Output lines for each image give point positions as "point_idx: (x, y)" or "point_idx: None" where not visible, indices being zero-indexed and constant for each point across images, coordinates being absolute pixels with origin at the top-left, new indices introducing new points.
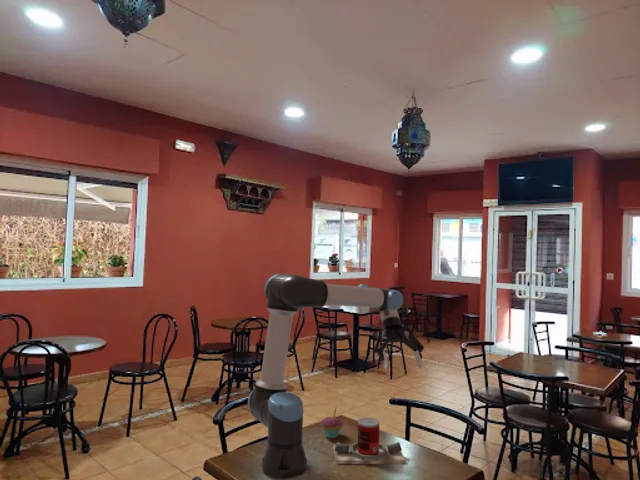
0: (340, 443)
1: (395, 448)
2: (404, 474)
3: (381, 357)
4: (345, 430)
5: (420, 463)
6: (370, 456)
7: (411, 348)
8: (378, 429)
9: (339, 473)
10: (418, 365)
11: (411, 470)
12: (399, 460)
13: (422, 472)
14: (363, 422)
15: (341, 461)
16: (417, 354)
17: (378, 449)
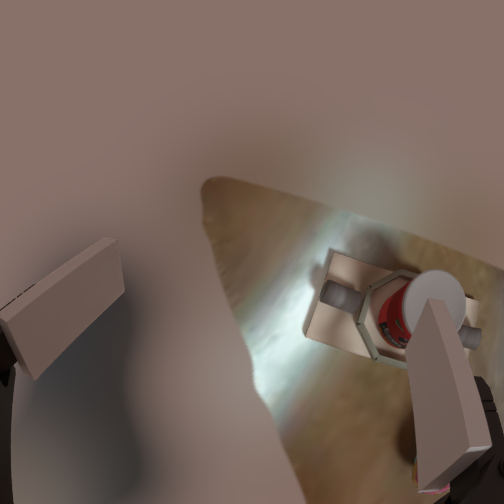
0: (473, 335)
1: (343, 285)
2: (358, 215)
3: (488, 391)
4: (377, 483)
5: (295, 245)
6: (418, 274)
7: (5, 418)
8: (408, 282)
9: (478, 263)
10: (110, 294)
11: (335, 224)
12: (347, 257)
13: (316, 209)
14: (449, 311)
15: (469, 299)
16: (44, 297)
17: (387, 299)
